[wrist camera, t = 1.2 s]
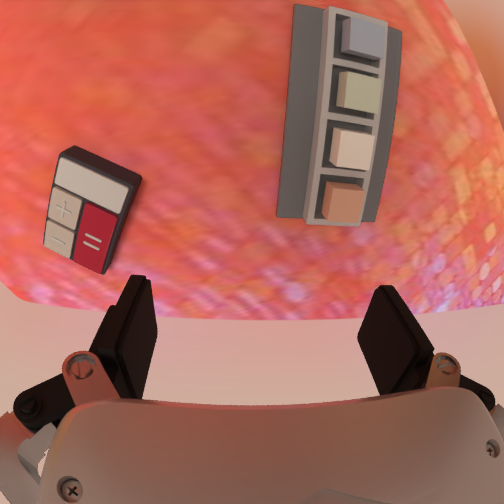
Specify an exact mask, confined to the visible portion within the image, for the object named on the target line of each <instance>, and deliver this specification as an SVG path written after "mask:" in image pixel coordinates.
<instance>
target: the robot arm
mask: <svg viewBox="0 0 504 504" xmlns="http://www.w3.org/2000/svg"><path fill="white" fill-rule="evenodd" d="M357 337H358V338H357V339H358V343H359V345H360V347H361V350H362V352H363V354H364V357H365V359H366V362H367V364H368V367H369V369H370V372H371V374H372V376H373V379H374V381H375V384H376V387H377V389H378V392H379V394H380V396H375V397H368V398H361V399H352V400H344V401H334V402H323V403H311V404H294V405H266V406H265V405H261V406H260V405H257V406H254V405H253V406H249V405H248V406H245V405H240V406H239V405H211V404H194V403H179V402H178V403H177V402H167V401H157V400H144V399H142V396H143V392H144V387H145V383H146V379H147V375H148V370H149V367H150V363H151V358H152V355H153V351H154V347H155V343H156V339H157V323H156V317H155V310H154V303H153V296H152V288H151V281H150V280H148V279H146V276H143V275H131V276H130V278H129V280H128V282H127V284H126V286H125V288H124V290H123V292H122V294H121V296H120V298H119V300H118V302H117V304H116V305H111V306H110V307H109V309H108V311H107V313H106V315H105V317H104V319H103V321H102V323H101V325H100V327H99V329H98V331H97V334H96V336H95V338H94V340H93V343H92V345H91V347H90V349H89V351H78V352H74V353H73V354H71V355H69V356H68V357H67V358H66V359H65V361H64V362H63V365H62V373H61V374H59V375H58V376H55V377H53V378H51V379H49V380H47V381H45V382H42V383H40V384H38V385H36V386H34V387H32V388H30V389H28V390H25V391H23V392H22V393H21V394H19V395H18V397H16V399H15V401H14V405H13V411H12V412H11V413H10V414H9V413H8V412H6V413H5V414H4V415H3V416H2V417H1V418H0V491H1V492H2V493H3V495H4V496H5V497H6V499H7V500H8V501H9V502H10V504H504V408H503V407H502V406H500V405H499V404H497V405H495V398H494V395H493V393H492V392H491V391H490V390H489V389H488V388H486V387H485V386H483V385H481V384H479V383H477V382H475V381H473V380H471V379H469V378H467V377H465V376H463V375H461V374H460V372H461V369H460V368H461V367H460V364H459V362H458V361H457V360H456V359H455V358H454V357H453V356H451V355H449V354H447V353H437V354H436V355H434V354H433V351H434V347H433V346H432V344H431V342H430V340H429V339H428V337H427V336H426V334H425V333H424V331H423V329H422V328H421V326H420V325H419V323H418V322H417V320H416V319H415V317H414V316H413V314H412V313H411V311H410V310H409V308H408V307H407V305H406V304H405V302H404V301H403V299H402V298H401V296H400V295H399V294H398V292H397V291H396V289H395V288H394V287H393V286H392V285H380V286H379V287H378V288H377V289H375V291H374V294H373V296H372V299H371V302H370V305H369V307H368V310H367V312H366V315H365V317H364V320H363V322H362V325H361V327H360V330H359V332H358V336H357ZM48 448H49V450H48V453H47V457H46V460H45V464H44V468H43V471H42V475H41V478H40V476H39V474H38V470H37V468H38V463H39V462H40V460H41V459H42V458H43V457H44V456H45V453H44V452H45V451H46V450H47V449H48ZM75 486H76V487H75Z"/></svg>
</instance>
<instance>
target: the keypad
mask: <svg viewBox="0 0 504 504" xmlns="http://www.w3.org/2000/svg"><path fill="white" fill-rule="evenodd" d="M350 17H354V18H358V19H361V20H365V21H368V22H372V23H375V24H378V25H381V26H384V27H385V43H384V59H377V60H372V59H368V58H364V57H360V56H356V55H352V54H347V53H343V52H341V44H342V27H343V21H344V20H346V19H348V18H350ZM401 47H402V31H399V30H397V29H394V28H391V27H388V22H386V21H383V20H380V19H376V18H373V17H370V16H367V15H363V14H360V13H356V12H352V11H349V10H345V9H341V8H336V7H332V6H328V7H327V8H326V9H321V8H316V7H311V6H305V5H299V4H294V6H293V21H292V36H291V50H290V64H289V77H288V90H287V102H286V114H285V126H284V137H283V148H282V159H281V169H280V180H279V190H278V200H277V210H276V216H277V217H280V218H303V219H304V221H305V222H306V224H311V225H333V226H354V227H360V224H361V221H362V222H375V218H376V214H377V210H378V205H379V201H380V197H381V192H382V187H383V183H384V178H385V173H386V168H387V162H388V157H389V151H390V145H391V139H392V133H393V126H394V119H395V112H396V104H397V96H398V86H399V76H400V63H401ZM347 71H348V72H353V73H357V74H361V75H366V76H370V77H374V78H377V79H381V80H382V83H381V93H380V102H379V110H378V114H375V113H370V112H365V111H360V110H355V109H350V108H344V107H339V106H336V102H337V92H338V82H339V72H347ZM334 127H335V128H342V129H349V130H355V131H360V132H366V133H368V134H371V135H374V136H375V139H374V145H373V151H372V157H371V163H370V169H369V170H362V169H354V168H346V167H337V166H335V165H334V164H333V163H331V162H330V161H329V159H330V152H331V145H332V137H333V129H334ZM326 181H328V182H339V183H349V184H357V185H358V186H359V187H361V188H362V189H363V190H364V191H365V195H364V200H363V204H362V209H361V214H360V218H359V222H358V223H349V222H330V221H327V220H326V219H325V217H324V216H323V214H322V213H321V212H322V206H323V199H324V193H325V187H326Z"/></svg>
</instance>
